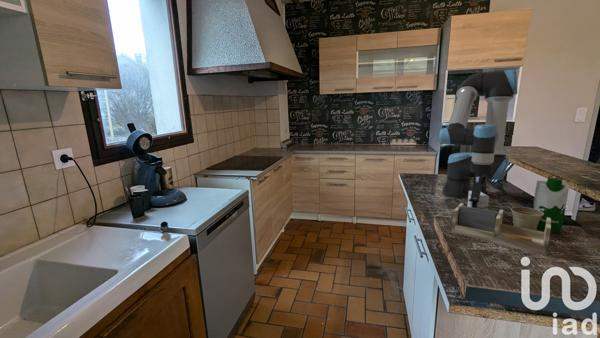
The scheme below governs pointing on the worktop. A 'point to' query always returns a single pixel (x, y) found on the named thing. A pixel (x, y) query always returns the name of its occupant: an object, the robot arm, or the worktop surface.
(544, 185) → the milk carton
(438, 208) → the worktop surface
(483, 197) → the ink box
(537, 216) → the flower pot
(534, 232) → the rack
